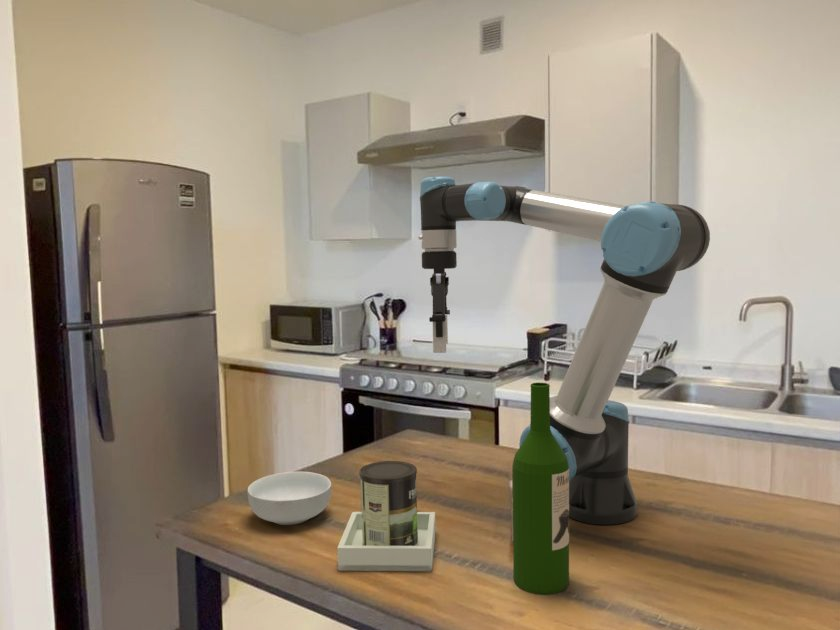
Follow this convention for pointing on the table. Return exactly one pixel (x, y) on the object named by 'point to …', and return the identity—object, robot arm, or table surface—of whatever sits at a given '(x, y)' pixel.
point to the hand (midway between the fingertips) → (440, 348)
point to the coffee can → (389, 504)
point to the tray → (386, 549)
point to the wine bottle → (540, 504)
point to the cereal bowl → (289, 496)
